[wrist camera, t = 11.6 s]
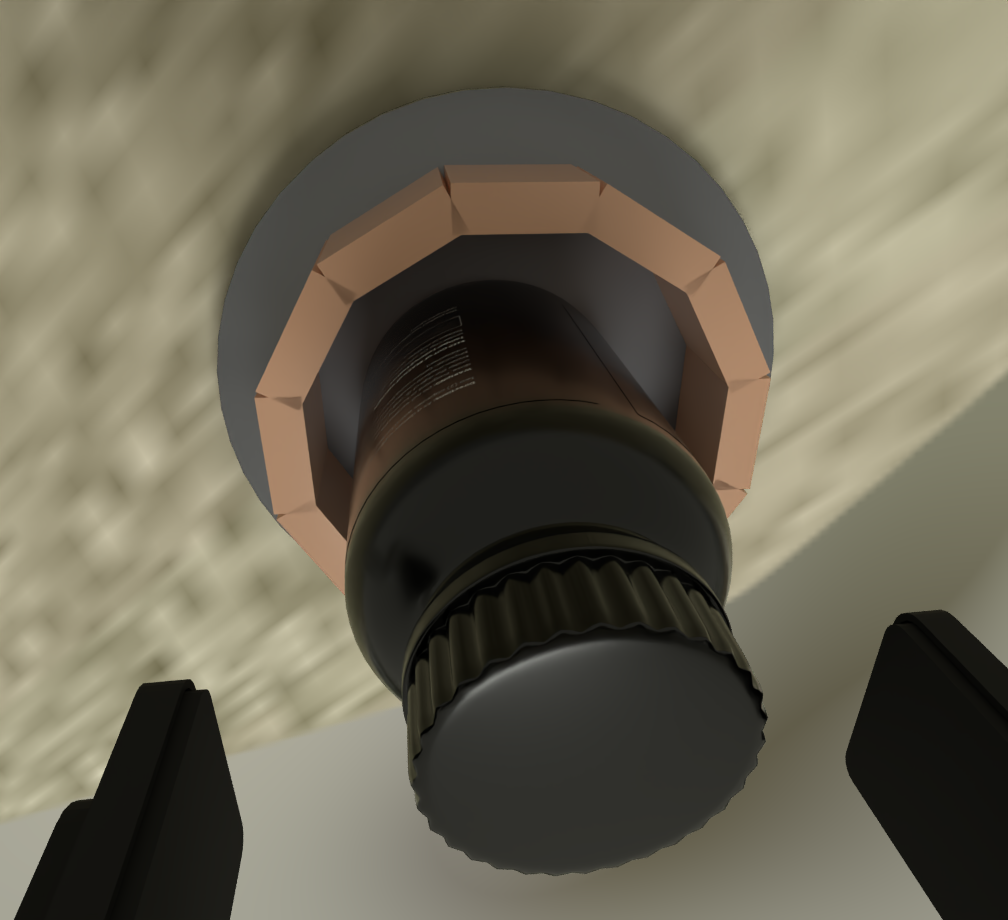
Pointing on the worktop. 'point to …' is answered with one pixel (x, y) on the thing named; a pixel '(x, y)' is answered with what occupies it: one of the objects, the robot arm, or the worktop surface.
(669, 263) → the bottle holder
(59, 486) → the worktop surface
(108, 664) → the worktop surface
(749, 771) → the supplement bottle
